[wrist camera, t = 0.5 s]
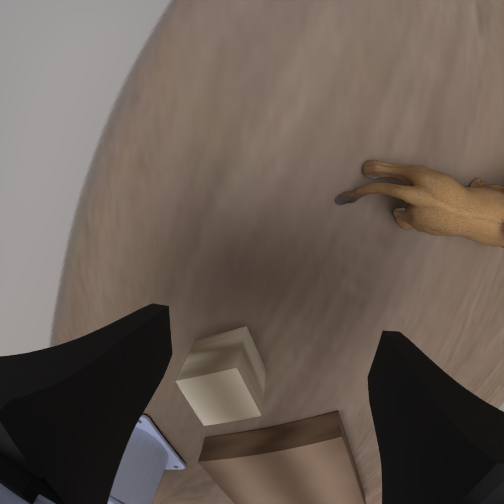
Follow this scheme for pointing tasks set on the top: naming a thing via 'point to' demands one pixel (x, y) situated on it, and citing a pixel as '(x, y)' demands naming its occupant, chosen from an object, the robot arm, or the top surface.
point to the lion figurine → (438, 202)
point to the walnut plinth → (286, 464)
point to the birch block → (224, 377)
